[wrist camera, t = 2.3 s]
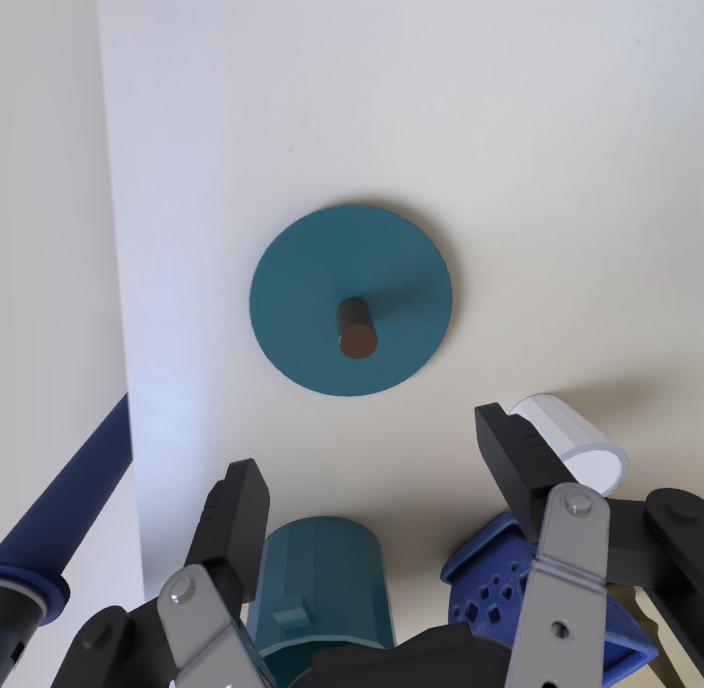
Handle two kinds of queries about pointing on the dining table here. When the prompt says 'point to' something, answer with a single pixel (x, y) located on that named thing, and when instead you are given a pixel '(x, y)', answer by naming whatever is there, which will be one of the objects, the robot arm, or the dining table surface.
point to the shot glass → (576, 442)
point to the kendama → (661, 662)
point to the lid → (350, 300)
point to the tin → (319, 594)
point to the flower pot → (508, 593)
